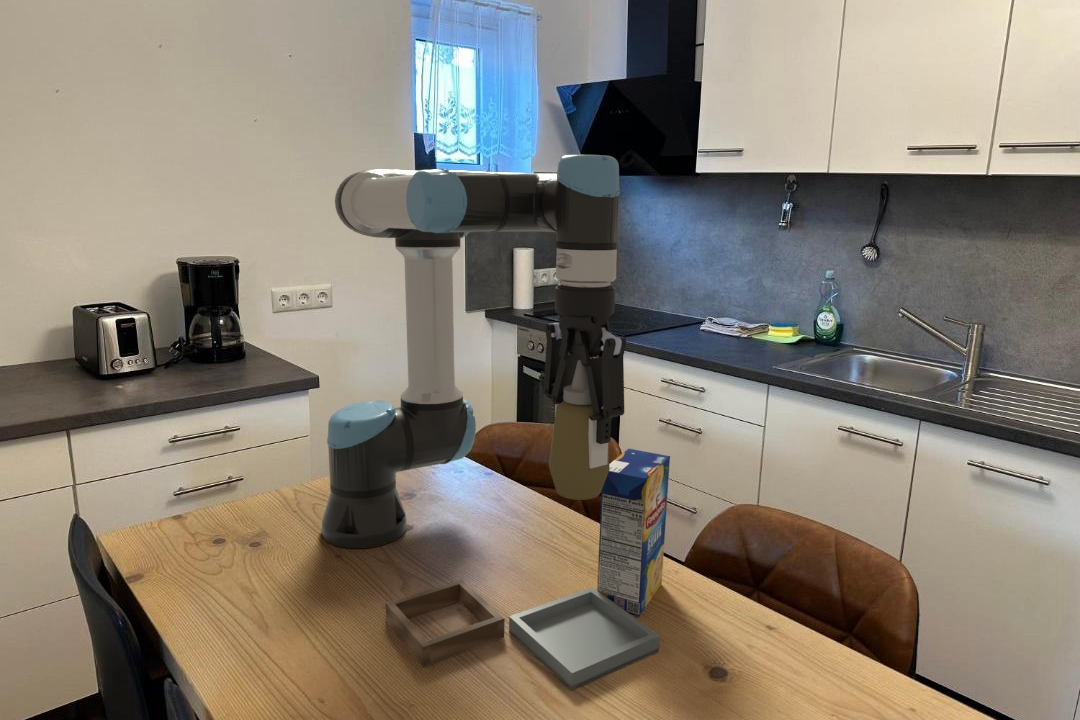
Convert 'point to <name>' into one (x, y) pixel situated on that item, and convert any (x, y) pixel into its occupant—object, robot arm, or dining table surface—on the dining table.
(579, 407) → the squeeze bottle
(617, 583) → the beverage box
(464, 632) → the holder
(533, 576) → the dining table surface
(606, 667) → the tray
